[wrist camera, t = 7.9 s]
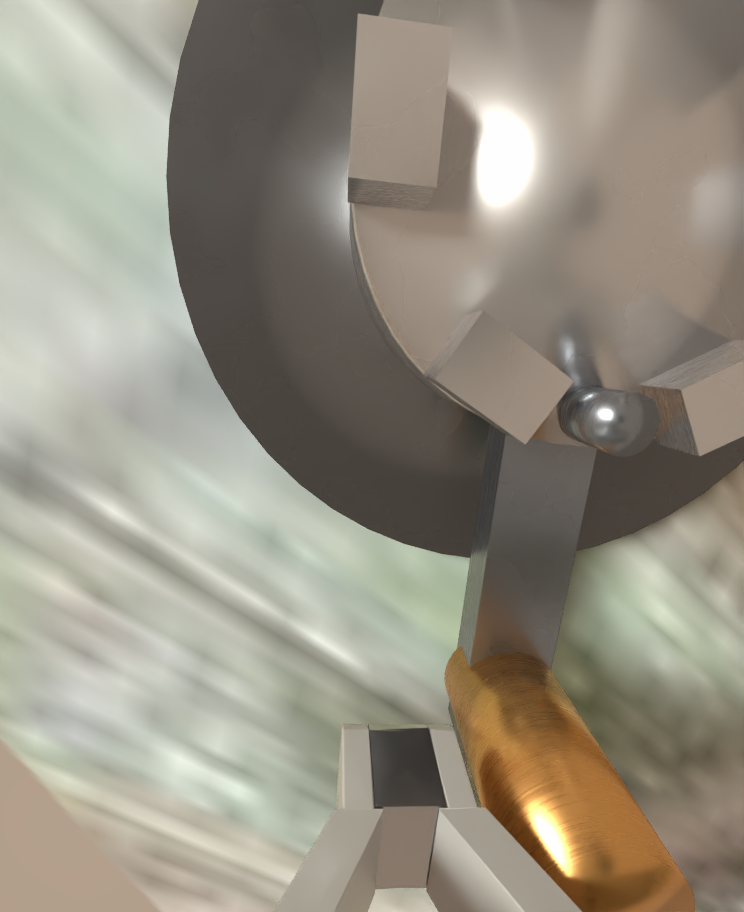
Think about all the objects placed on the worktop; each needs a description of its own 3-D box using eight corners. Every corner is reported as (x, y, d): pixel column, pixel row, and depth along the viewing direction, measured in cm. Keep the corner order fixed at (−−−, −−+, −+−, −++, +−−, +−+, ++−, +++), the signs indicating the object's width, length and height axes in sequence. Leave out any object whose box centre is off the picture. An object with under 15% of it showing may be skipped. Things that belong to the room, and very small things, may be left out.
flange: (397, -390, 8) (410, -569, 7) (950, 112, 11) (1053, 72, 10) (90, 373, 12) (48, 377, 10) (585, 617, 14) (617, 652, 13)
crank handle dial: (365, -53, 8) (418, -1122, 2) (789, 14, 9) (1685, -665, 3) (320, 678, 12) (296, 995, 6) (617, 684, 13) (855, 974, 7)
